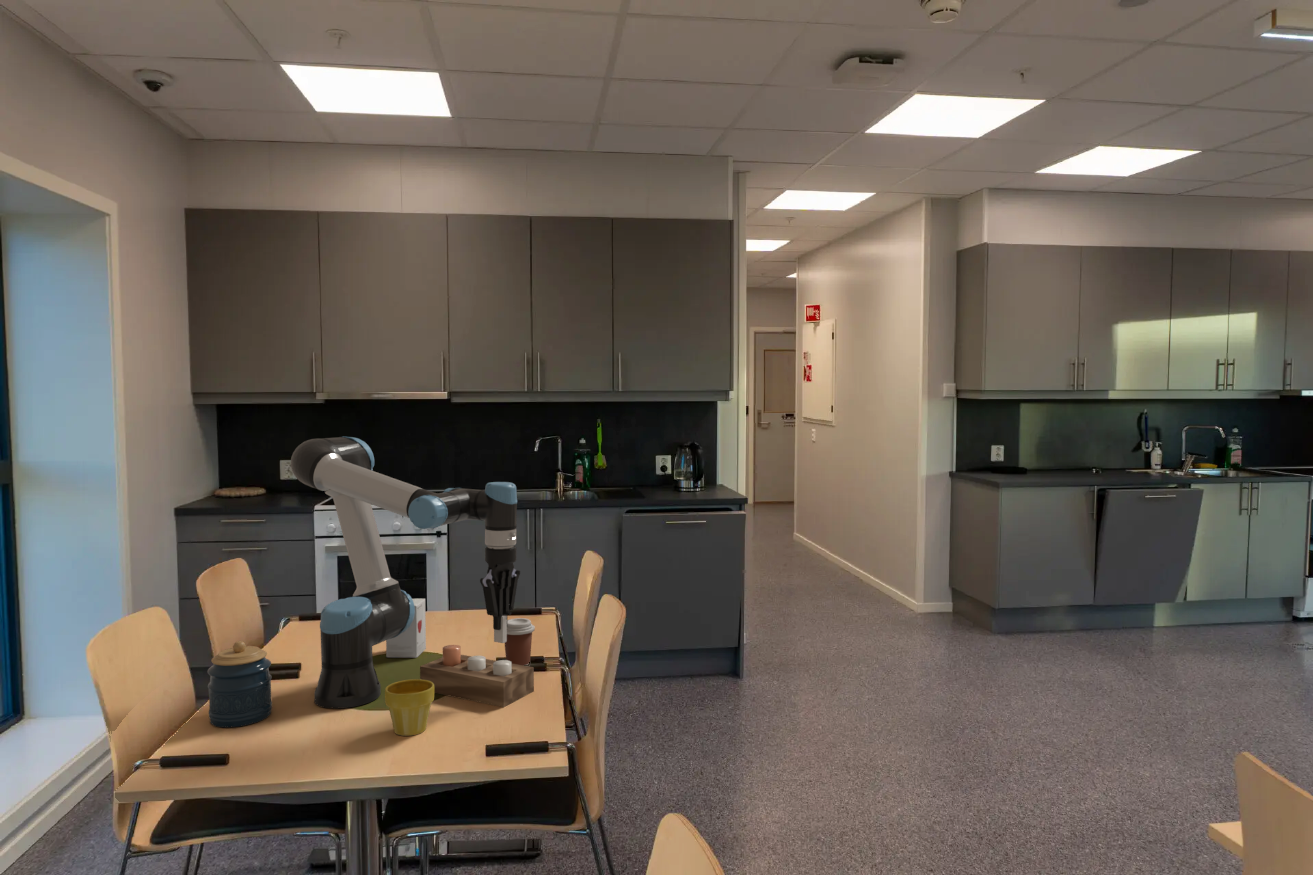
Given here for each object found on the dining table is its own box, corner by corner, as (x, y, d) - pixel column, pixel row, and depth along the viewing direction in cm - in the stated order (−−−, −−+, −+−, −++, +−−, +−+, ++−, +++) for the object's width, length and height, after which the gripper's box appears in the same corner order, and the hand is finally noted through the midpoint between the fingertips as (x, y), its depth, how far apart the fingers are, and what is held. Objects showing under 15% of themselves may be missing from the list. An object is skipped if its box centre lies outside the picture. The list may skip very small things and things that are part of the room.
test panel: (503, 707, 192) (503, 681, 192) (420, 689, 204) (419, 666, 204) (533, 691, 203) (533, 667, 203) (452, 675, 215) (452, 652, 215)
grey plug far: (504, 695, 197) (503, 666, 197) (489, 692, 199) (489, 664, 199) (515, 689, 201) (515, 661, 201) (501, 686, 203) (500, 659, 203)
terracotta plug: (452, 678, 204) (452, 650, 204) (439, 675, 206) (438, 648, 206) (464, 673, 208) (464, 646, 208) (451, 670, 210) (450, 643, 210)
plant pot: (417, 717, 186) (416, 674, 186) (444, 728, 180) (443, 684, 179) (376, 731, 178) (375, 687, 178) (403, 743, 172) (402, 698, 171)
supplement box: (417, 658, 230) (416, 605, 229) (385, 658, 230) (384, 605, 229) (427, 648, 239) (426, 597, 238) (396, 648, 239) (395, 597, 238)
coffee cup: (538, 659, 228) (538, 617, 227) (530, 670, 219) (530, 626, 218) (506, 658, 229) (506, 616, 228) (497, 669, 220) (496, 625, 219)
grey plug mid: (478, 690, 201) (477, 662, 200) (464, 687, 203) (463, 659, 202) (489, 684, 205) (489, 657, 204) (475, 681, 207) (475, 654, 206)
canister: (274, 703, 195) (272, 630, 194) (270, 723, 183) (268, 645, 182) (213, 711, 190) (211, 636, 190) (204, 732, 178) (202, 652, 178)
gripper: (496, 551, 191) (495, 651, 192) (529, 543, 202) (528, 637, 204) (471, 548, 194) (470, 646, 195) (505, 540, 206) (504, 632, 207)
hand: (500, 641), depth 200 cm, fingers closed
